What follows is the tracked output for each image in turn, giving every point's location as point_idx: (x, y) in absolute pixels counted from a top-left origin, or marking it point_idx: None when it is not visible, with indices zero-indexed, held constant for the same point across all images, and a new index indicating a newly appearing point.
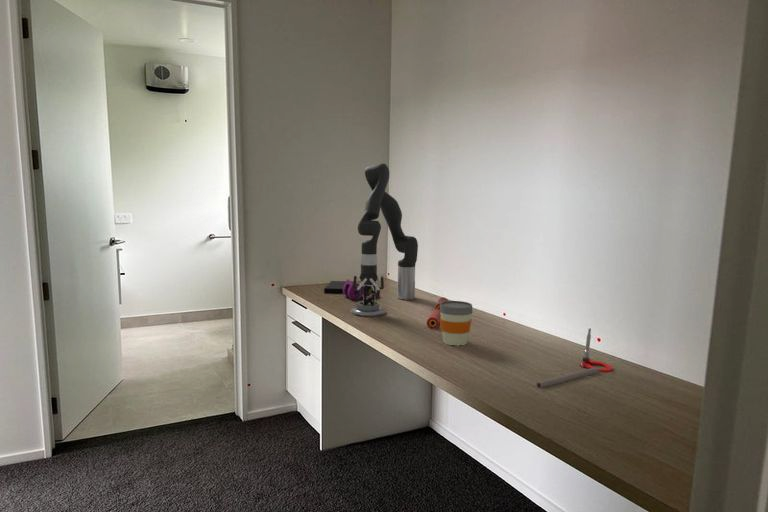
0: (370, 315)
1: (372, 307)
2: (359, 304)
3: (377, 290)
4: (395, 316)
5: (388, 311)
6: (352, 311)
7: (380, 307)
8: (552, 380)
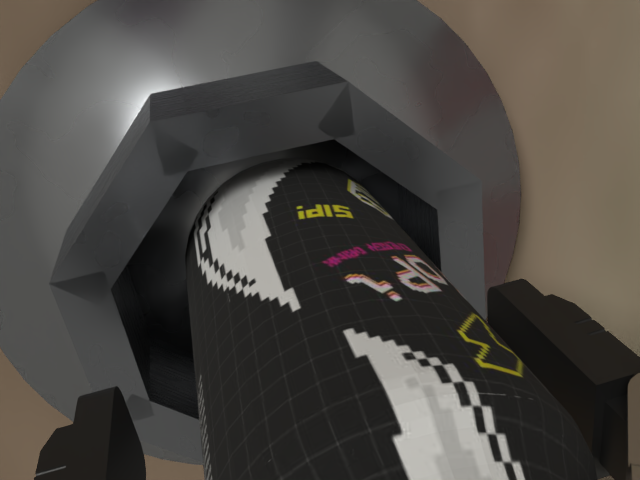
0: None
1: None
2: (170, 445)
3: (604, 466)
4: (614, 291)
5: (537, 69)
6: (69, 412)
7: (440, 62)
8: None
